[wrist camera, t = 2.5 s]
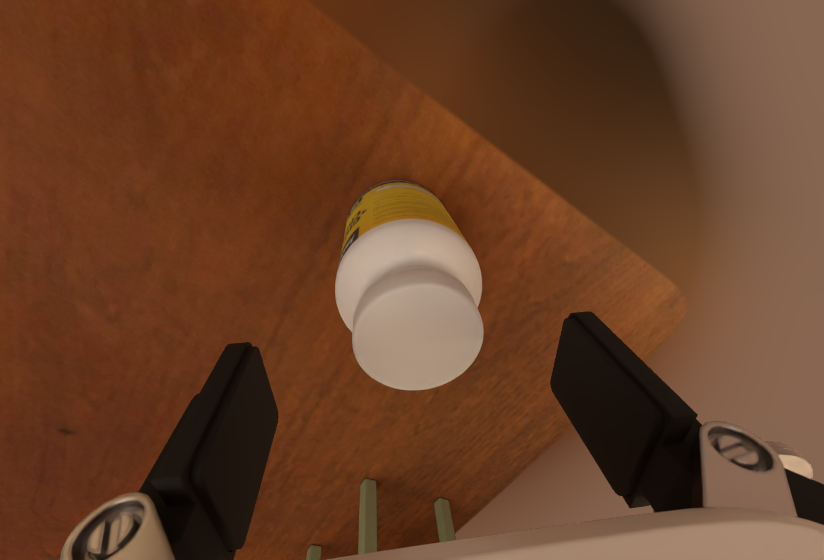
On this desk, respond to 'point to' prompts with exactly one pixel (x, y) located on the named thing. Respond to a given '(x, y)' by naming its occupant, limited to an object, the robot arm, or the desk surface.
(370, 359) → the pill bottle
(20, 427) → the desk surface
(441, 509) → the mint side table
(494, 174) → the desk surface
